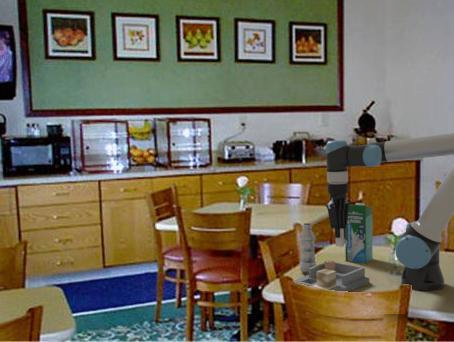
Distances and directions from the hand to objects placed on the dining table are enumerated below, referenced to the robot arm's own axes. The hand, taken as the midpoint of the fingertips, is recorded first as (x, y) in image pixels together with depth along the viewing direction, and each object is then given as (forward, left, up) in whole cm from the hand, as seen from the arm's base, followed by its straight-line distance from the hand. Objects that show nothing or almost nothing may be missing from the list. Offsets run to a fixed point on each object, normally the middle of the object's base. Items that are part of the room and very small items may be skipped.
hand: (339, 245), depth 215 cm
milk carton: (+15, -36, -15) cm, 42 cm away
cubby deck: (+4, +1, -15) cm, 16 cm away
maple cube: (+1, +8, -13) cm, 15 cm away
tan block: (+8, -4, -13) cm, 16 cm away
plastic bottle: (+20, -6, -15) cm, 26 cm away
